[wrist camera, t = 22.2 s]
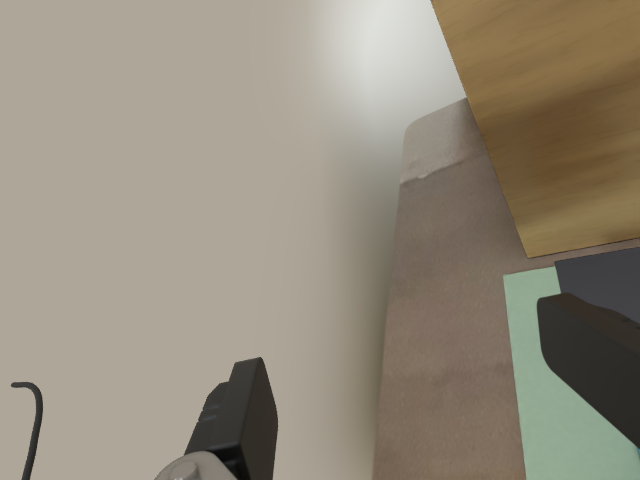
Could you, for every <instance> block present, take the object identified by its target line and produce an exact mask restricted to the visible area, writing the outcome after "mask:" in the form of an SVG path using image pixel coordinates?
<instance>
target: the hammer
mask: <svg viewBox="0 0 640 480" xmlns="http://www.w3.org/2000/svg"><path fill="white" fill-rule="evenodd" d="M554 263H555V268H556V272H557V277H558V282H559V286H560V291H561V293H565V292H568V293H571V294H573V295H574V296H576V297H578V298H580V299H582V300H584V301H586V302H587V303H589V304H591V305H596V306H600V307H604V308H607V309H611V310H614V311H616V312H618V313H620V314H622V315H624V316H626V317H628V318H630V319H631V321H633V320H634V321H636V322H638V323H640V247H636V248H630V249H624V250H619V251H613V252H607V253H601V254H595V255H589V256H583V257H577V258H571V259H566V260H560V261H555V262H554ZM636 448H637V451H638V455H639V458H640V449H639V448H638V447H636Z"/></svg>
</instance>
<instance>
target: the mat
mask: <svg viewBox="0 0 640 480" xmlns="http://www.w3.org/2000/svg"><path fill="white" fill-rule="evenodd" d="M503 282H504V290H505V299H506V308H507V316H508V325H509V334H510V342H511V351H512V360H513V368H514V377H515V386H516V394H517V403H518V412H519V420H520V429H521V438H522V446H523V455H524V464H525V472H526V480H640V458H639V455H638V451H637V448H636V446H635V445H634V444H633V443H632V442H631V441H630V440H629V439H627V438H626V437H625V436H624V435H623V434H622V433H621V432H620V431H619V430H617V429H616V428H615V427H614V426H613V425H612V424H611V423H610V422H608V421H607V420H606V419H605V418H604V417H603V416H602V415H601V414H599V413H598V412H597V411H596V410H595V409H594V408H593V407H592V406H591V405H589V404H588V403H587V402H586V401H585V400H584V399H583V398H582V397H580V396H579V395H578V394H577V393H576V392H575V391H574V390H573V389H571V388H570V387H569V386H568V385H567V384H566V383H565V382H564V381H562V380H561V379H560V378H559V377H558V376H557V375H556V374H555V373H554V372H552V371H551V370H550V368H549V367H548V365H547V364H546V362H545V360H544V358H543V355H542V352H541V345H540V336H539V326H538V317H537V301H538V299H539V298H542V297H546V296H551V295H556V294H560V293H561V291H560V286H559V282H558V277H557V272H556V268H555V266H554V267H548V268H543V269H537V270H531V271H525V272H519V273H513V274H508V275H503Z"/></svg>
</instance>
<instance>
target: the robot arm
mask: <svg viewBox="0 0 640 480" xmlns="http://www.w3.org/2000/svg"><path fill="white" fill-rule="evenodd" d="M537 317H538V326H539V336H540V345H541V352H542V355H543V358H544V360H545V362H546V364H547V365H548V367H549V368H550V370H551V371H552V372H554V373H555V374H556V375H557V376H558V377H559V378H560V379H561V380H562V381H564V382H565V383H566V384H567V385H568V386H569V387H570V388H571V389H573V390H574V391H575V392H576V393H577V394H578V395H579V396H580V397H582V398H583V399H584V400H585V401H586V402H587V403H588V404H589V405H591V406H592V407H593V408H594V409H595V410H596V411H597V412H598V413H599V414H601V415H602V416H603V417H604V418H605V419H606V420H607V421H608V422H610V423H611V424H612V425H613V426H614V427H615V428H616V429H617V430H619V431H620V432H621V433H622V434H623V435H624V436H625V437H626V438H627V439H629V440H630V441H631V442H632V443H633V444H634V445H635V446H636V447H638V448H639V449H640V323H638V322H636V321H634V320H633V321H631V319H630V318H628V317H626V316H624V315H622V314H620V313H618V312H616V311H614V310H611V309H607V308H604V307H600V306H596V305H591V304H589V303H587V302H586V301H584V300H582V299H580V298H578V297H576V296H574V295H573V294H571V293H568V292H565V293H560V294H556V295H551V296H546V297H542V298H539V299H538V301H537ZM11 386H12V387H16V388H18V387H26V388H29V389H31V390H32V391H33V393H34V395H35V399H36V416H35V422H34V427H33V431H32V436H31V441H30V447H29V452H28V456H27V461H26V464H25V468H24V472H23V477H22V480H30V476H31V471H32V467H33V463H34V459H35V455H36V449H37V443H38V437H39V432H40V427H41V422H42V413H43V401H42V395H41V392H40V390H39V388H38V387H37V386H36V385H34V384H33V383H29V382H14V383H12V384H11ZM198 420H199V422H197V424H196V426H195V429H194V431H193V434H192V437H191V439H190V441H189V444H188V446H187V449H186V451H185V454H184V456H182V457H180V458H178V459H176V460H175V461H173V462H172V463H170V464H169V465H168V466H166V467H165V468H164V469H163V470H162V471H161V472H160V473H159V474H158V475H157V477H156V478H155V479H154V480H272V479H273V469H274V460H275V451H276V440H277V431H278V417H277V410H276V405H275V401H274V397H273V394H272V390H271V386H270V383H269V379H268V375H267V371H266V368H265V364H264V362H263V359H262V358H261V357H259V358H254V359H249V360H245V361H240V362H236V363H235V364H234V367H233V370H232V373H231V376H230V379H229V382H224V383H220V384H219V385H218V386H217V387H216V388H215V389H214V390H213V391H212V392H211V393H210V394H209V395H208V397H207V399H206V402H205V404H204V407H203V411H202V412H201V415H200V417H199V419H198Z"/></svg>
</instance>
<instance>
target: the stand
mask: <svg viewBox="0 0 640 480" xmlns="http://www.w3.org/2000/svg"><path fill="white" fill-rule="evenodd" d="M431 3H432V6H433V8H434V11H435V14H436V16H437V19H438V22H439V24H440V27H441V29H442V32H443V35H444V38H445V40H446V43H447V46H448V48H449V51H450V53H451V56H452V59H453V61H454V64H455V67H456V69H457V72H458V74H459V77H460V80H461V83H462V85H463V88H464V91H465V93H466V96H467V98H468V101H469V104H470V106H471V109H472V112H473V114H474V117H475V120H476V122H477V125H478V128H479V130H480V133H481V136H482V138H483V141H484V143H485V146H486V149H487V151H488V154H489V157H490V159H491V162H492V165H493V167H494V170H495V173H496V175H497V178H498V181H499V183H500V186H501V188H502V191H503V194H504V196H505V199H506V202H507V204H508V207H509V210H510V212H511V215H512V218H513V220H514V223H515V226H516V228H517V231H518V233H519V236H520V239H521V241H522V244H523V247H524V249H525V252H526V255H527V257H528V258H532V257H537V256H543V255H548V254H553V253H559V252H564V251H570V250H575V249H580V248H586V247H591V246H596V245H602V244H607V243H613V242H618V241H623V240H629V239H634V238H640V0H431Z"/></svg>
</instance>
